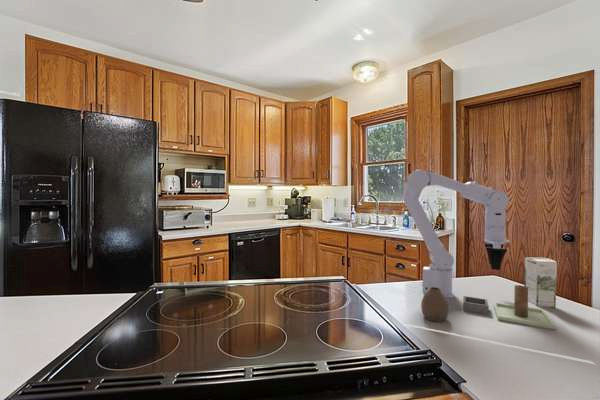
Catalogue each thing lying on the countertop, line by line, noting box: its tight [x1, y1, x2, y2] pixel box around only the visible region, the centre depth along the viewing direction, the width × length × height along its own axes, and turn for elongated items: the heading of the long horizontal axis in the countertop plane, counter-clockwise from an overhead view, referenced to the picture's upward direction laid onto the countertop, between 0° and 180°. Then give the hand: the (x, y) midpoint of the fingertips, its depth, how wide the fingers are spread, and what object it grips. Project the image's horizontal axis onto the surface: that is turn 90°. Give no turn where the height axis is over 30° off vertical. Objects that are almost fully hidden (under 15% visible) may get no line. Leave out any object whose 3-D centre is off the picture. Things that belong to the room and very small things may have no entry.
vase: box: [420, 287, 450, 323], centre depth 80 cm, size 7×7×9 cm
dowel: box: [513, 285, 529, 318], centre depth 81 cm, size 3×3×8 cm
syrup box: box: [524, 256, 558, 309], centre depth 92 cm, size 6×6×14 cm
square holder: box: [462, 295, 490, 316], centre depth 87 cm, size 6×6×3 cm
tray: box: [492, 301, 556, 331], centre depth 81 cm, size 12×12×2 cm
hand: (494, 267), depth 98 cm, fingers open, 7 cm apart
